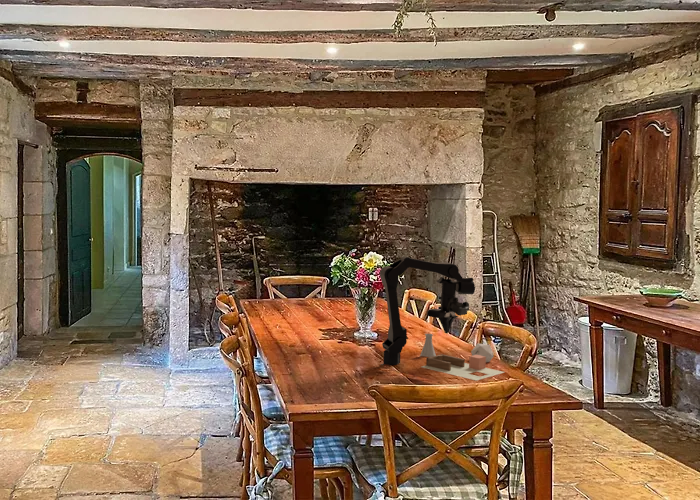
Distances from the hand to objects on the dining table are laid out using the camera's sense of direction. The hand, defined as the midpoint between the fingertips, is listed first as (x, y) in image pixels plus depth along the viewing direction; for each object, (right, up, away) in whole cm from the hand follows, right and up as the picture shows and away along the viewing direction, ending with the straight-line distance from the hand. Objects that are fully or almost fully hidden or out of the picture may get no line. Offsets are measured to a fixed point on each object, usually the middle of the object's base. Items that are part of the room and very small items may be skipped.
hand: (446, 333), depth 280 cm
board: (+5, -14, -12) cm, 19 cm away
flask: (-6, -12, +12) cm, 18 cm away
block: (+11, -13, -9) cm, 19 cm away
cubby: (-1, -12, -7) cm, 14 cm away
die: (+15, -13, +5) cm, 21 cm away
